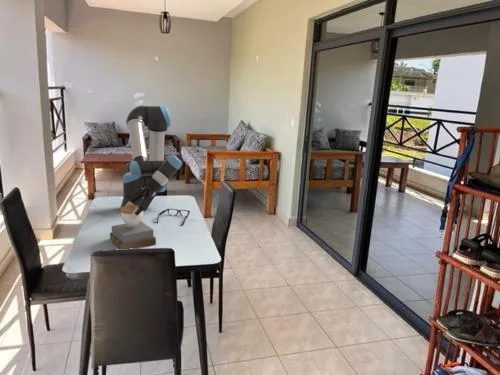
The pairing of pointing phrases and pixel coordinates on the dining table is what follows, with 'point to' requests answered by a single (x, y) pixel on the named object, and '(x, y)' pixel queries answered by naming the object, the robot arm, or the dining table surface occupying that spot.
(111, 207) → the dining table surface
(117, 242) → the walnut block
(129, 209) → the lidded jar
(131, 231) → the charcoal grey block
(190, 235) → the dining table surface
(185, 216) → the glasses
